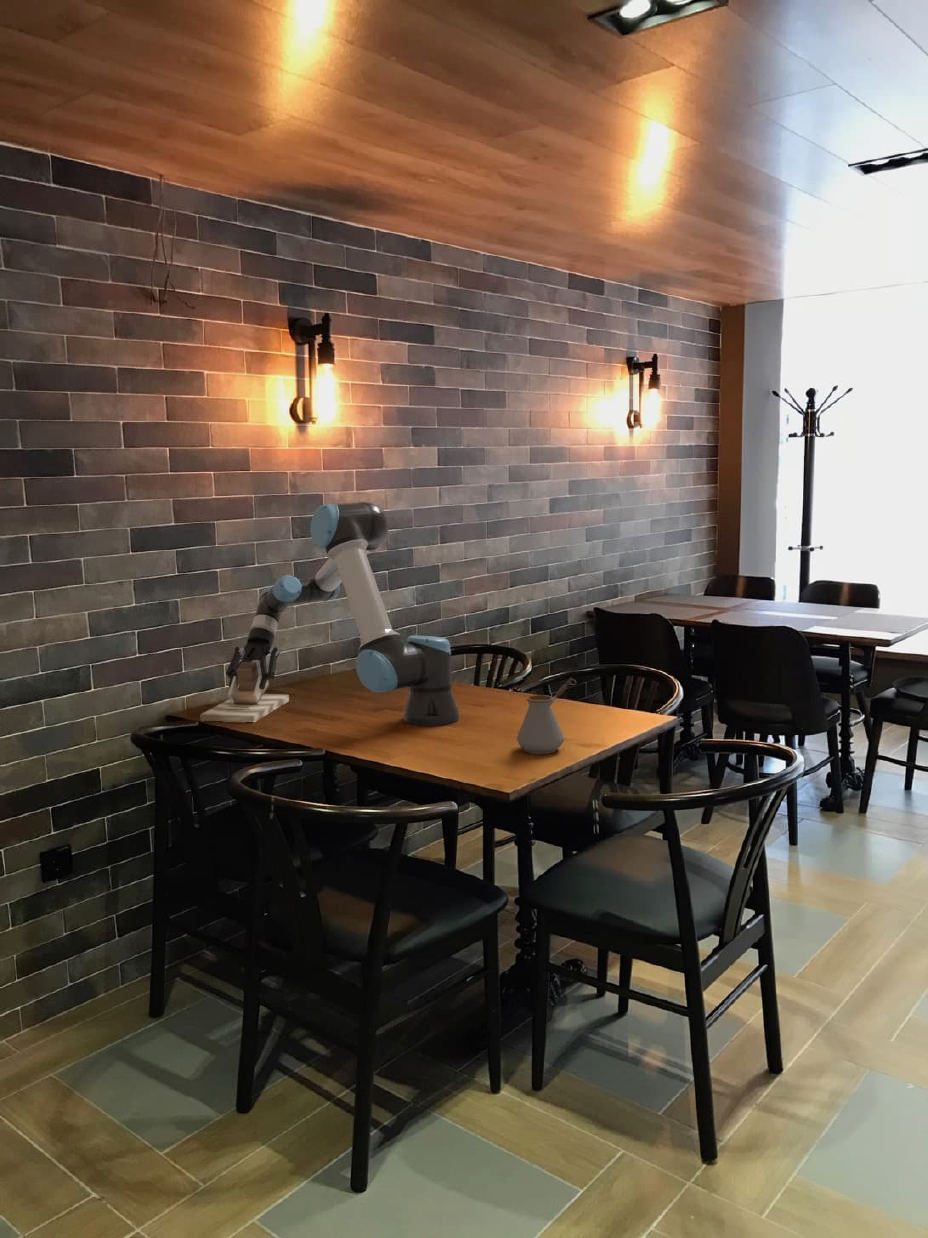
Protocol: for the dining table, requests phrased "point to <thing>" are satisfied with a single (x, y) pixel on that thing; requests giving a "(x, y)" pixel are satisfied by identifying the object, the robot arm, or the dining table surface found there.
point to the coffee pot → (541, 725)
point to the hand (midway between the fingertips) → (243, 697)
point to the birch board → (245, 709)
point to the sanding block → (247, 684)
